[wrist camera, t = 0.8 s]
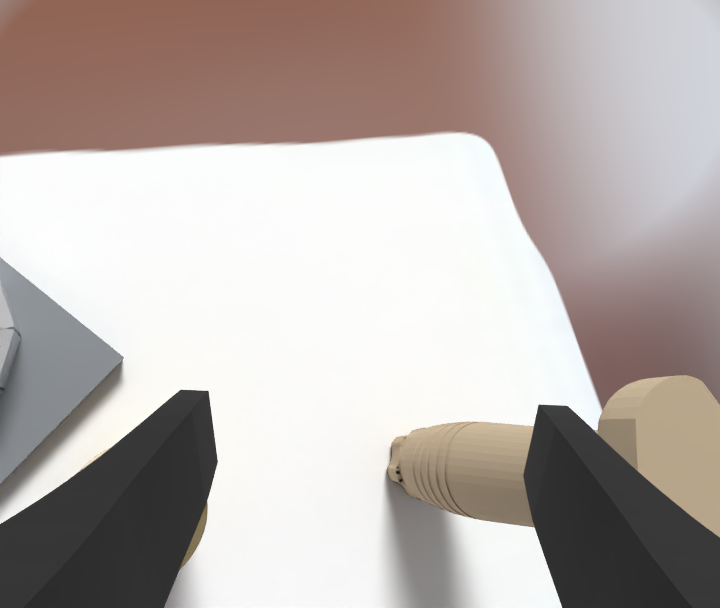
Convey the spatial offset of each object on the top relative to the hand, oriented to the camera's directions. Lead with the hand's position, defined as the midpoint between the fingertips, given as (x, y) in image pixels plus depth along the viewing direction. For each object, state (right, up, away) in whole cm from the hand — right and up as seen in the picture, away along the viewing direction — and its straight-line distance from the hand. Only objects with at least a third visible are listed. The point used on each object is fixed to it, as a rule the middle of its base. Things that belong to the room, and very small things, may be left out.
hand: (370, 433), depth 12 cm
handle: (+2, -5, +16) cm, 17 cm away
